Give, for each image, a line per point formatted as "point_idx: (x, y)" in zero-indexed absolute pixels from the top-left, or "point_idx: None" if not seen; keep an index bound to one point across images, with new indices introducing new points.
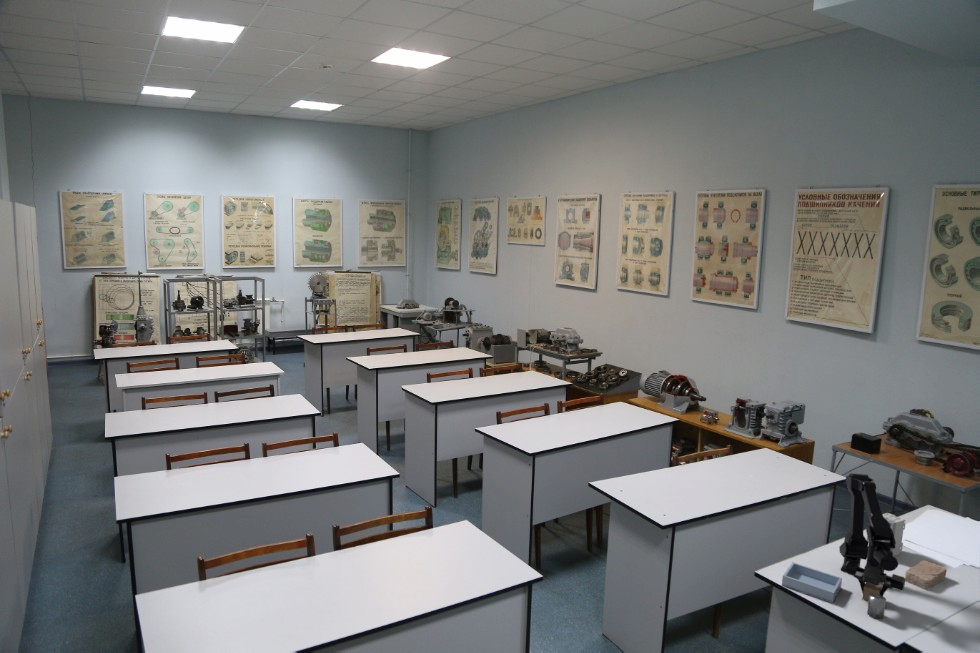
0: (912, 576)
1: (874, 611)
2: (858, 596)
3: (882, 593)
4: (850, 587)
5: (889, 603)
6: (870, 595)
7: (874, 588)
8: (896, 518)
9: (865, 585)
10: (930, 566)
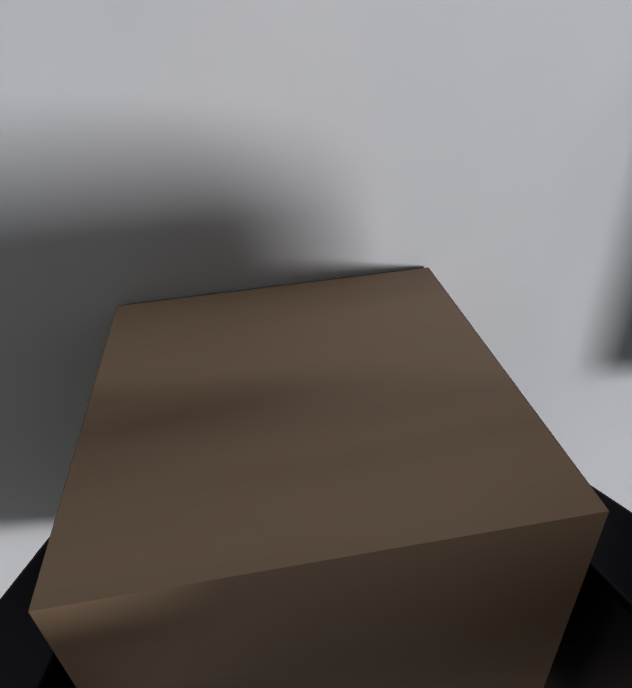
0: None
1: None
2: (502, 319)
3: (21, 612)
4: (617, 477)
5: (3, 497)
6: None
7: (268, 652)
8: None
9: (550, 603)
10: None
